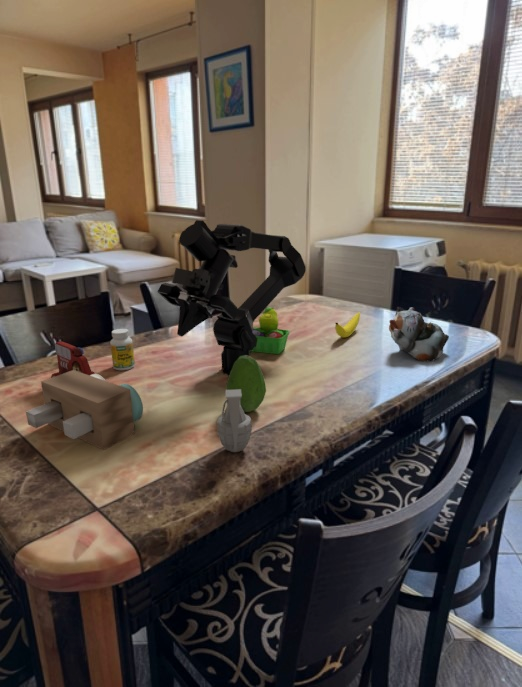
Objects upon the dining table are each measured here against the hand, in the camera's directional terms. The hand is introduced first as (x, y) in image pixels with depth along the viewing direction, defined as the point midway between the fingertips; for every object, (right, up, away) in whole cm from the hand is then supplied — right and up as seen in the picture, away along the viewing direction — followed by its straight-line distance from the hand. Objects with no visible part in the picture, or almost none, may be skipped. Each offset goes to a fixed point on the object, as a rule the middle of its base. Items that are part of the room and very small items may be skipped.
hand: (179, 335), depth 105 cm
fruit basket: (+19, -4, +32) cm, 38 cm away
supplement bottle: (-17, -8, +21) cm, 28 cm away
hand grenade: (+13, -21, -18) cm, 30 cm away
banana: (+43, +1, +43) cm, 61 cm away
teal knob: (-12, -18, -13) cm, 26 cm away
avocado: (+14, -16, -3) cm, 21 cm away
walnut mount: (-16, -18, -11) cm, 27 cm away
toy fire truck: (-25, -12, +8) cm, 29 cm away
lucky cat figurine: (+59, -5, +28) cm, 65 cm away
